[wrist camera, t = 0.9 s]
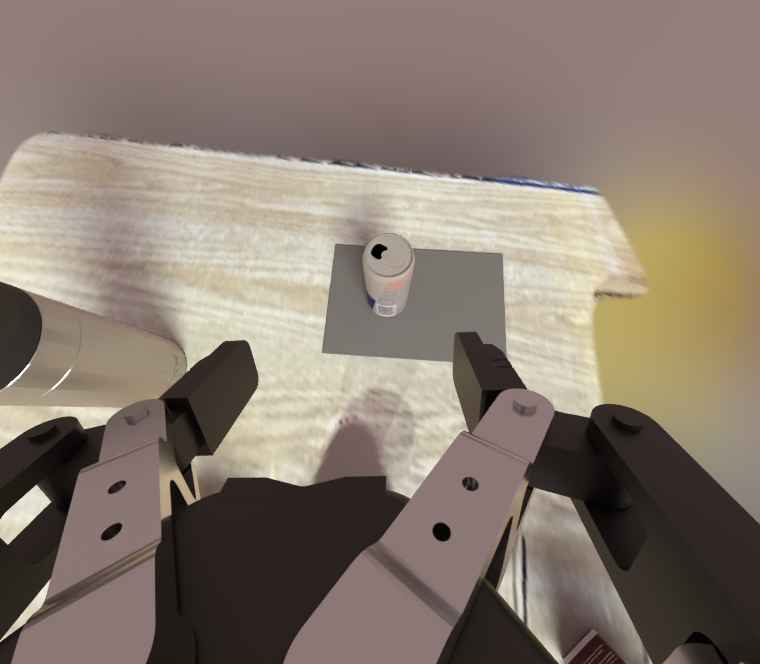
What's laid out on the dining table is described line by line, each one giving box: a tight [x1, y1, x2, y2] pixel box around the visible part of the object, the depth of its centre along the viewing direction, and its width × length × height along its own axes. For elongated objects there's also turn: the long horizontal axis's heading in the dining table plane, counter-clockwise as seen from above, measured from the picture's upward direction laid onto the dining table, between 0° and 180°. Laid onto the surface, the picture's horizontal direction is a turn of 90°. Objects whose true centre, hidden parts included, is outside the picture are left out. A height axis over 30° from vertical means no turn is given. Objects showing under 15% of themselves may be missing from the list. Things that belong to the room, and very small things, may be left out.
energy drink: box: [362, 233, 415, 317], centre depth 35 cm, size 5×5×12 cm
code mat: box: [322, 244, 506, 362], centre depth 41 cm, size 24×16×1 cm, turn 86°
